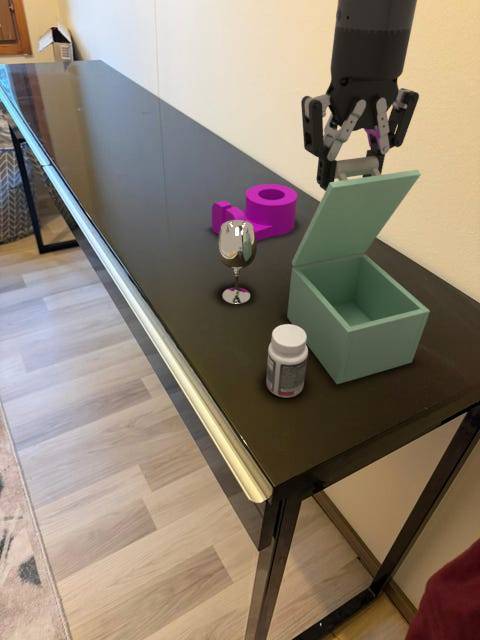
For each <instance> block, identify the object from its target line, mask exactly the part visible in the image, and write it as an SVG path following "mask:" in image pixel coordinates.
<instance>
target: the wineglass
mask: <svg viewBox="0 0 480 640" xmlns="http://www.w3.org/2000/svg"><path fill="white" fill-rule="evenodd" d="M216 245H217V247H216V248H217V249H216V250H217V256H218V258H219V261H220V262H221V263H222V264H223V265H224V266H226V267H228V268H231V269H233V271H232V272H233V275H234V287H229V288H226V289H225V290H224V291H222V295H221V296H222V299H223V300H224V301H225V302H226V303H229V304H233V305H242V304H245V303H247V302H248V301H249V300H250V299H251V293H250V291H249V290H248V289H246V288H243V287H239V278H240V275H241V274H240V273H241V269H244V268H246V267H249V266H250V265H251V264H252V263H253V262H254V260H255V258H256V255H257V248H258V247H257V246H258V245H257V241H256V236H255V231H254V227H253V225H252V224H251V223H249V222H247V221H243V220H231V221H227V222H225V223H223V224H222V226H221V229H220V233H219V235H218V237H217V244H216Z"/></svg>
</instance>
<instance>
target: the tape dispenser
mask: <svg viewBox="0 0 480 640" xmlns="http://www.w3.org/2000/svg"><path fill="white" fill-rule="evenodd" d="M297 201H298V193H297V192H296V191H295V190H294V189H293V188H291V187H288V186H285V185H281V184H276V183H275V184H274V183H264V184H257V185H254V186H252V187H250V188H248V189H247V190H246V192H245V208H244V209H245V210H241V209H239V208H238V207H236V206H233V207H232V203H230V202H229V201H227V200H221V201H217V202H214V203H213V204H212V205H211V231H213V233H215V234H217V236H219V233H220V229H221V226H222V224H223V223H225V222H227V221H231V220H243V221H247V222H249V223H251V224H252V225H253V227H254V231H255V236H256V242H259V241H261V240H264V239H267V238H270V237H276V236H282V235H286V234H288V233H290V232H292V231H293V230H294V228H295V223H296V212H297Z"/></svg>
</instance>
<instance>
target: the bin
mask: <svg viewBox="0 0 480 640" xmlns="http://www.w3.org/2000/svg"><path fill="white" fill-rule="evenodd" d="M289 284H290V285H289V295H288V304H287V315H286V318H287V319H288V320H289V323H291V324H292V325H296V326H298V327H300V328H302V329H303V330H304V331H305V333H306V335H307V339H306V345H307V347H308V348H309V349H310V350H311V352H312V353H313V354H314V356H315V357H316V359H317V360H318V361H319V362H320V364H321V365H322V367H323V368H324V369H325V371H326V372H327V374H328V375H329V376H330V377H331V379H332V380H333V382H334V383H335V384H336V385H340V384H344V383H347V382H351V381H353V380H357V379H360V378H364V377H367V376H371V375H375V374H377V373H382V372H384V371H388V370H390V369H391V370H392V369H394V368H395V369H396V368H399V367H401V366H405V365H408V364H411V363H413V361H414V358H415V355H416V353H417V349H418V346H419V344H420V341H421V338H422V336H423V332H424V330H425V327H426V324H427V321H428V318H429V315H430V312H431V311H430V309H429V308H428V307H426V306H425V305H424V304H423V303H422V302H421V301H419V299H417V298H416V297H415V296H414V295H413V294H411V293H410V292H409V291H408V290H407V289H406V288H404V286H402V285H401V284H400V283H399V282H397V281H396V280H395V279H394V278H393V277H392V276H391V275H390V274H388V272H386V271H385V270H384V269H383V268H382V267H381V266H379V265H378V264H377V263H376V262H375V261H374V260H372V259H371V258H370V257H369V256H368V255H367V254H366V253H365V252H364V253H359V254H354V255H349V256H344V257H339V258H334V259H329V260H324V261H319V262H314V263H309V264H304V265H299V266H292V267H291V274H290V283H289Z"/></svg>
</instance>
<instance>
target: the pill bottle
mask: <svg viewBox="0 0 480 640" xmlns="http://www.w3.org/2000/svg"><path fill="white" fill-rule="evenodd" d="M306 339H307V335H306V333H305V331H304V330H303V329H302V328H300V327H298V326H296V325H293V324H292V323H291V324H290V323H285V324H280V325H278V326H276V327H274V329H273V330H272V333H271V339H270V343H269V345H268V348H267V364H266V380H265V385H266V387H267V389H268V391H269V392H271V394H273V395H274V396H277V397H279V398H282V399H283V398H284V399H286V398H288V399H289V398H293V397H296V396H297V395H299V394H300V393H301V392H302V391H303V389H304V385H305V380H306V379H305V378H306V371H307V363H308V356H309V349H308V348H309V347H308V345H307V343H306Z"/></svg>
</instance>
